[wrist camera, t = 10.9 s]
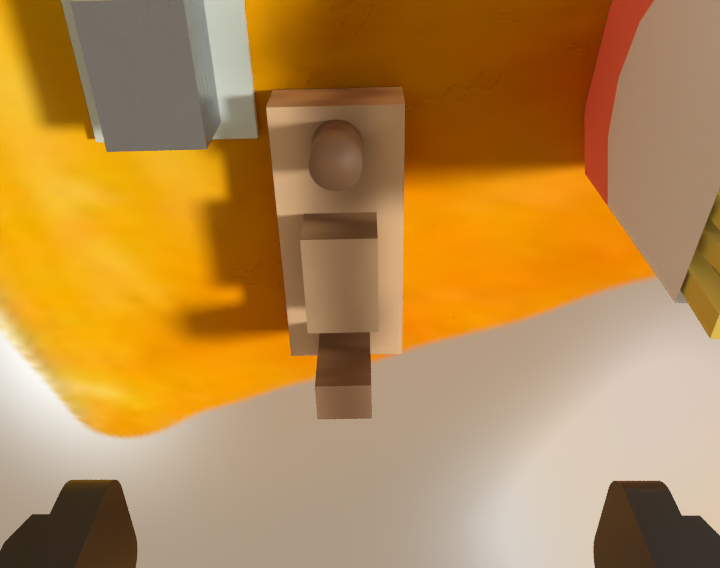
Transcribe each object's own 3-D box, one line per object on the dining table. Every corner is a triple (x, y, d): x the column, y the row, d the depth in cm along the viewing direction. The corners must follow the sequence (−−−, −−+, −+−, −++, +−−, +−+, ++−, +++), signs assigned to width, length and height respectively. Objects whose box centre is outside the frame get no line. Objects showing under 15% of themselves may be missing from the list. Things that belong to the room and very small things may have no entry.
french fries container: (716, -49, 33) (1023, 38, 18) (650, 160, 39) (837, 360, 23) (623, -56, 33) (852, 26, 17) (571, 155, 38) (708, 353, 23)
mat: (99, 138, 38) (96, 142, 37) (56, -38, 33) (52, -36, 32) (259, 134, 38) (257, 138, 37) (239, -43, 33) (237, -41, 32)
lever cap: (129, 124, 37) (106, 151, 33) (99, -14, 33) (70, 1, 30) (220, 121, 37) (206, 149, 33) (201, -17, 33) (183, -2, 30)
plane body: (295, 327, 45) (282, 423, 37) (272, 89, 36) (249, 152, 29) (399, 325, 45) (407, 421, 37) (402, 86, 36) (413, 148, 29)
